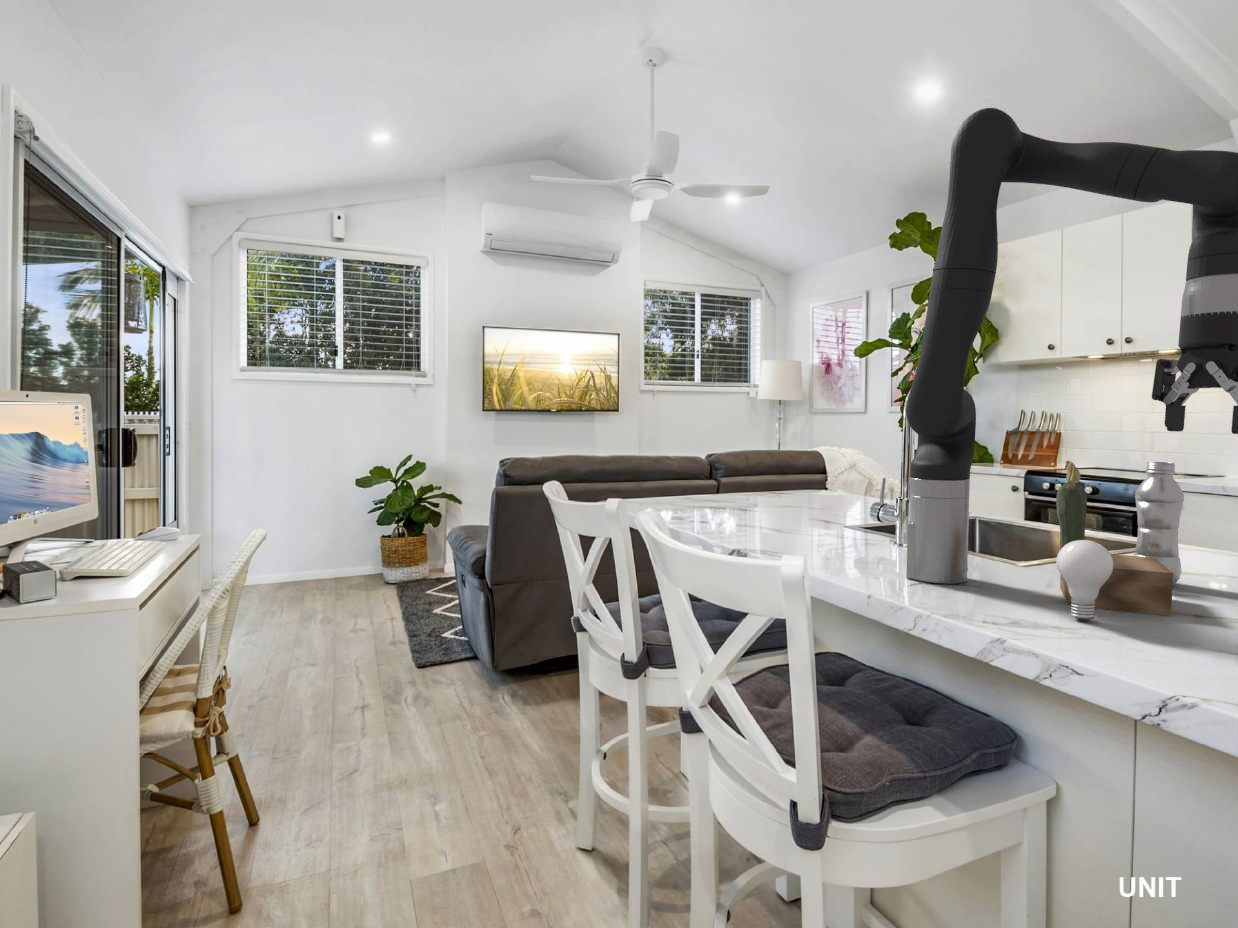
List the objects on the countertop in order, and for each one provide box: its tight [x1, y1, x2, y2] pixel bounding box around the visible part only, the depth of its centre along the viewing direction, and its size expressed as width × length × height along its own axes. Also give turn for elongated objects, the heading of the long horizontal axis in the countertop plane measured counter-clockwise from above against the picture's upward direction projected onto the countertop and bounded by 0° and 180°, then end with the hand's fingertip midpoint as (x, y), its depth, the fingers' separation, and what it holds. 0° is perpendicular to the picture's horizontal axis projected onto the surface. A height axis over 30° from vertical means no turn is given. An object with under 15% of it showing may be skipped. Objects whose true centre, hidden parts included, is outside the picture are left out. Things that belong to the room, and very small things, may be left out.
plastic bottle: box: [1133, 461, 1185, 585], centre depth 112 cm, size 6×7×20 cm
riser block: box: [1059, 553, 1174, 617], centre depth 102 cm, size 12×12×6 cm
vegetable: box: [1055, 460, 1088, 551], centre depth 118 cm, size 4×4×20 cm
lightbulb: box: [1055, 539, 1113, 622], centre depth 92 cm, size 6×6×11 cm
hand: (1206, 432), depth 94 cm, fingers open, 8 cm apart
